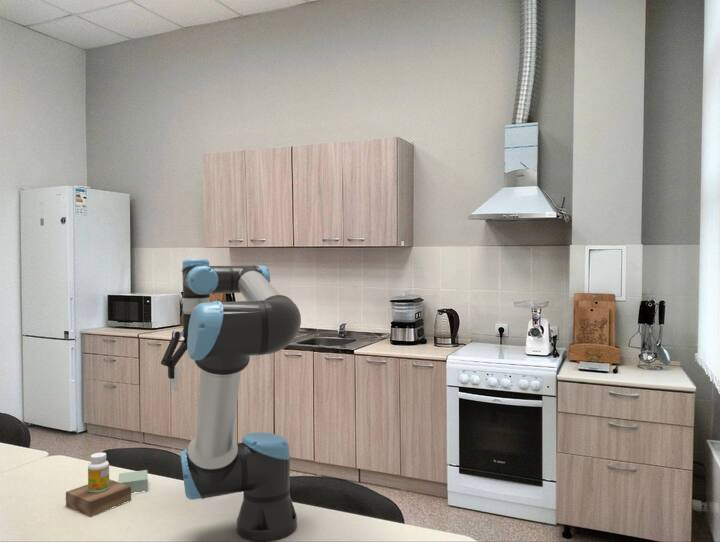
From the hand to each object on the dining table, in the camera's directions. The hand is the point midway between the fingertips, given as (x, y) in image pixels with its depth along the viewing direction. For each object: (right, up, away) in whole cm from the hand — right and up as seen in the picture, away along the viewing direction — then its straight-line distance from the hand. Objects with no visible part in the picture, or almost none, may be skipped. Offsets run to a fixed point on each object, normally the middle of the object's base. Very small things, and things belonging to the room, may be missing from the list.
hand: (197, 386), depth 163 cm
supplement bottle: (-26, -28, -4) cm, 39 cm away
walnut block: (-26, -32, -4) cm, 42 cm away
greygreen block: (-21, -32, +6) cm, 39 cm away
